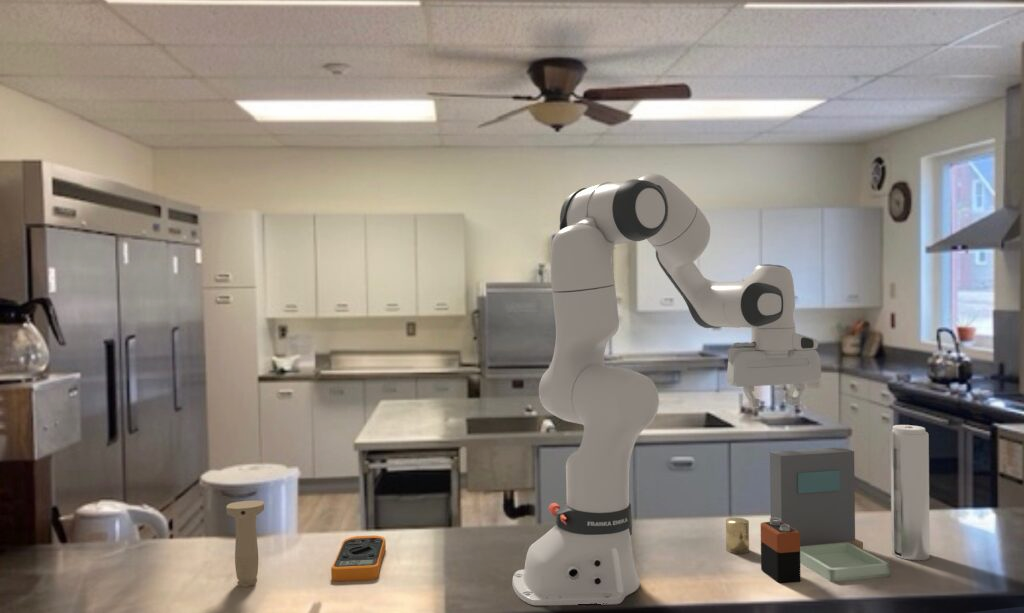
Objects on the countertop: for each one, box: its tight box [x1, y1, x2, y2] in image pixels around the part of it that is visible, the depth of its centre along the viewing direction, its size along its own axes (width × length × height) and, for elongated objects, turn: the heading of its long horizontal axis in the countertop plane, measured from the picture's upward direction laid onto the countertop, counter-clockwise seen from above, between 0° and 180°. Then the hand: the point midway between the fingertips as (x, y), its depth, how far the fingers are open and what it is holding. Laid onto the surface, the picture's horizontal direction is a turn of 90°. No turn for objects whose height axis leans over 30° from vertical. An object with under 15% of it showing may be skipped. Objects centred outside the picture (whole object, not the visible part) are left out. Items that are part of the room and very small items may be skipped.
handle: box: [225, 500, 265, 588], centre depth 133 cm, size 5×6×15 cm
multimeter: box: [330, 535, 387, 582], centre depth 142 cm, size 9×18×3 cm, turn 5°
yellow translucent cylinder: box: [725, 517, 750, 555], centre depth 146 cm, size 4×4×6 cm
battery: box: [760, 517, 802, 584], centre depth 133 cm, size 4×7×10 cm, turn 9°
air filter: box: [889, 424, 931, 562], centre depth 142 cm, size 6×6×25 cm
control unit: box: [769, 446, 864, 550], centre depth 146 cm, size 18×6×20 cm, turn 101°
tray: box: [800, 542, 892, 583], centre depth 137 cm, size 12×12×2 cm
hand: (774, 405), depth 156 cm, fingers open, 8 cm apart
